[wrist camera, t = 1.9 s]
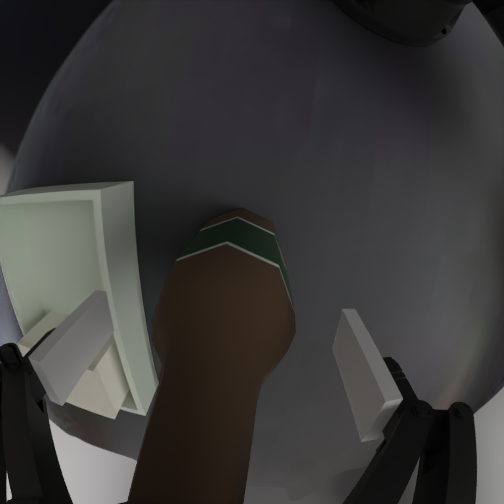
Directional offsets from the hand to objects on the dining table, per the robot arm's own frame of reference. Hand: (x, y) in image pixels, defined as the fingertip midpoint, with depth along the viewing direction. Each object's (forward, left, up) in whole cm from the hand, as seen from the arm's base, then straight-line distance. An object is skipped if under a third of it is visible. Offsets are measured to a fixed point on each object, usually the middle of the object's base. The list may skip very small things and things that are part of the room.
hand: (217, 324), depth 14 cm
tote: (+19, +7, -12) cm, 23 cm away
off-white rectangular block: (+19, +14, -11) cm, 26 cm away
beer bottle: (0, 0, -12) cm, 12 cm away
